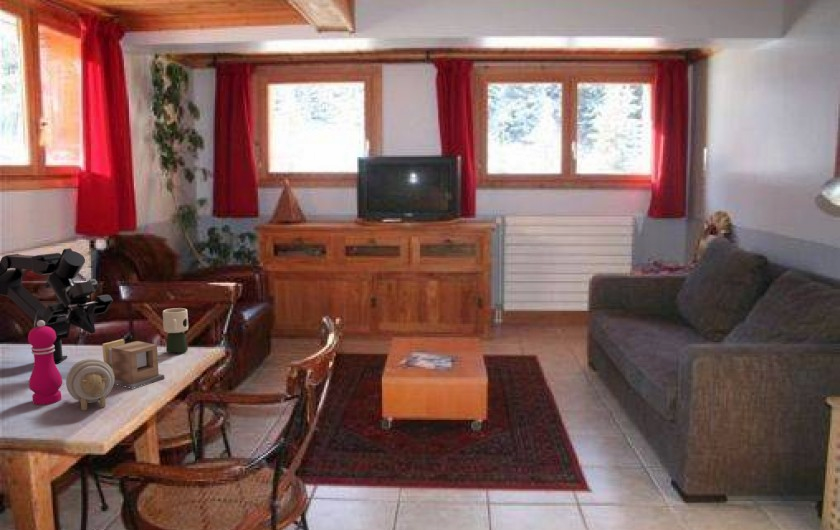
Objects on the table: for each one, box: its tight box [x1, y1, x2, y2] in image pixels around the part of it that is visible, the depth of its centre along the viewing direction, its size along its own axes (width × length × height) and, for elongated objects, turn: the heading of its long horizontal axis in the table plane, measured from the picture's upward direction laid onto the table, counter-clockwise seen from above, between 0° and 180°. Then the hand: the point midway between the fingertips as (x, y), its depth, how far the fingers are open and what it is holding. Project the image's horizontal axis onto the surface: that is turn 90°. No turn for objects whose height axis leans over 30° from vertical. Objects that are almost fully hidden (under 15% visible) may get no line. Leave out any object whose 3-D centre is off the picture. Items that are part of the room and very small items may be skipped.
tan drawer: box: [102, 338, 147, 369], centre depth 194 cm, size 11×6×7 cm, turn 59°
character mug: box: [162, 307, 189, 354], centre depth 220 cm, size 11×7×13 cm, turn 15°
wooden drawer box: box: [111, 340, 165, 389], centre depth 194 cm, size 18×10×9 cm, turn 59°
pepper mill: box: [27, 320, 63, 405], centre depth 176 cm, size 7×7×20 cm
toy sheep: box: [65, 357, 115, 412], centre depth 174 cm, size 11×17×11 cm, turn 35°
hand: (93, 332), depth 200 cm, fingers closed
